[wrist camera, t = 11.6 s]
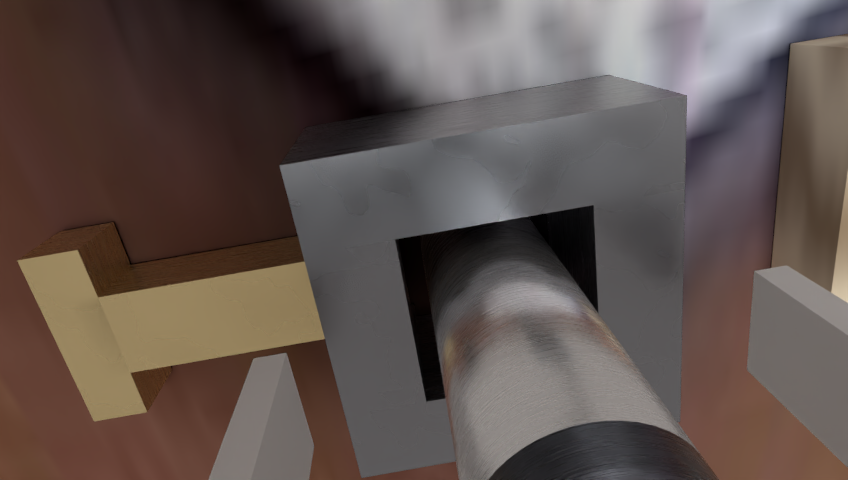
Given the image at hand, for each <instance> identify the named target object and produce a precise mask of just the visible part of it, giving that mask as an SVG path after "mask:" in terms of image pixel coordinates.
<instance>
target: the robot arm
mask: <svg viewBox="0 0 848 480" xmlns="http://www.w3.org/2000/svg"><path fill="white" fill-rule="evenodd" d="M747 370H748V371H749V372H750V373H751V374H752V375H753V376H754V377H755V378H756V379H757V380H758V381H759V382H760V383H761V384H762V385H763V386H764V387H765V388H766V389H767V390H768V391H769V392H770V393H771V394H772V395H773V396H774V397H775V398H777V399H778V400H779V401H780V402H781V403H782V404H783V405H784V406H785V407H786V408H787V409H788V410H789V411H790V412H791V413H792V414H793V415H794V416H795V417H796V418H797V419H798V420H799V421H800V422H801V423H802V424H803V425H804V426H805V427H806V428H807V429H808V430H810V431H811V432H812V433H813V434H814V435H815V436H816V437H817V438H818V439H819V440H820V441H821V442H822V443H823V444H824V445H825V446H826V447H827V448H828V449H829V450H830V451H831V452H832V453H833V454H834V455H835V456H836V457H837V458H838V459H839V460H840V461H841V462H843V463H844V464H845V465H846V466H847V467H848V303H847V302H845V301H844V300H842V299H841V298H839V297H837V296H836V295H834V294H832V293H831V292H829V291H828V290H826V289H824V288H823V287H821V286H819V285H818V284H816V283H815V282H813V281H811V280H810V279H808V278H806V277H805V276H803V275H802V274H800V273H798V272H797V271H795V270H794V269H792V268H790V267H789V266H787V265H786V266H780V267H775V268H769V269H763V270H757V271H754V281H753V295H752V308H751V322H750V335H749V349H748V362H747ZM313 450H314V444H313V440H312V437H311V434H310V430H309V427H308V423H307V420H306V417H305V413H304V410H303V407H302V403H301V400H300V397H299V393H298V390H297V386H296V383H295V380H294V376H293V373H292V370H291V366H290V363H289V359H288V356H287V353H282V354H276V355H271V356H265V357H259V358H254V359H253V361H252V364H251V367H250V369H249V372H248V375H247V377H246V380H245V383H244V385H243V388H242V391H241V394H240V396H239V399H238V402H237V404H236V407H235V410H234V412H233V415H232V418H231V420H230V423H229V426H228V429H227V431H226V434H225V437H224V439H223V442H222V445H221V447H220V450H219V453H218V455H217V458H216V461H215V464H214V466H213V469H212V472H211V474H210V477H209V480H309V476H310V469H311V463H312V456H313Z"/></svg>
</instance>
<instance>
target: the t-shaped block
mask: <svg viewBox="0 0 848 480" xmlns="http://www.w3.org/2000/svg"><path fill="white" fill-rule="evenodd" d="M17 261H18V263H19V265H20V267H21V270H22V272H23V274H24V276H25V278H26V280H27V282H28V284H29V286H30V288H31V291H32V293H33V295H34V297H35V299H36V301H37V303H38V305H39V307H40V309H41V311H42V314H43V316H44V318H45V320H46V322H47V324H48V326H49V328H50V330H51V332H52V334H53V337H54V339H55V341H56V343H57V345H58V347H59V349H60V351H61V353H62V355H63V357H64V360H65V362H66V364H67V366H68V368H69V370H70V372H71V374H72V376H73V378H74V380H75V383H76V385H77V387H78V389H79V391H80V393H81V395H82V397H83V399H84V401H85V404H86V406H87V408H88V410H89V412H90V414H91V416H92V418H93V420H94V421H99V420H105V419H111V418H117V417H122V416H128V415H134V414H139V413H145V412H148V410H149V408H150V406H151V405H152V403H153V401H154V400H155V398H156V396H157V395H158V393H159V391H160V390H161V388H162V386H163V384H164V383H165V381H166V379H167V378H168V376H169V374H170V373H171V371H172V369H171V367H170V366H172V365H178V364H184V363H190V362H195V361H201V360H207V359H213V358H218V357H224V356H230V355H236V354H241V353H247V352H253V351H258V350H264V349H270V348H276V347H281V346H287V345H293V344H299V343H304V342H310V341H316V340H322V339H325V337H324V333H323V329H322V326H321V322H320V318H319V314H318V310H317V307H316V303H315V299H314V295H313V291H312V288H311V284H310V280H309V276H308V272H307V269H306V265H305V261H304V257H303V253H302V250H301V246H300V242H299V238H298V236H295V237H289V238H284V239H278V240H272V241H266V242H261V243H255V244H249V245H243V246H237V247H232V248H226V249H220V250H214V251H209V252H203V253H197V254H191V255H185V256H180V257H174V258H168V259H162V260H157V261H151V262H145V263H139V264H133V265H130V263H129V260H128V258H127V255H126V253H125V250H124V248H123V245H122V243H121V240H120V237H119V235H118V232H117V230H116V227H115V225H114V222H112V223H106V224H100V225H94V226H88V227H83V228H77V229H71V230H65V231H60V232H59V233H57V234H56V235H54V236H53V237H51V238H50V239H48V240H47V241H45V242H44V243H42V244H41V245H39V246H38V247H36V248H35V249H33V250H32V251H30V252H29V253H27V254H26V255H25V256H23V257H22V258H20V259H19V260H17Z"/></svg>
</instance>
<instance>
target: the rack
mask: <svg viewBox="0 0 848 480" xmlns="http://www.w3.org/2000/svg"><path fill="white" fill-rule="evenodd" d="M786 265H787V266H789V267H790V268H792V269H794V270H795V271H797V272H798V273H800V274H802V275H803V276H805V277H806V278H808V279H810V280H811V281H813V282H815V283H816V284H818V285H819V286H821V287H823V288H824V289H826V290H828V291H829V292H831V293H832V294H834V295H836V296H837V297H839V298H841V299H842V300H844V301H845V302H847V303H848V34H844V35H838V36H833V37H827V38H821V39H815V40H809V41H804V42H798V43H792V44H791V46H790V57H789V69H788V80H787V92H786V103H785V115H784V126H783V138H782V149H781V161H780V172H779V184H778V195H777V207H776V218H775V230H774V241H773V253H772V264H771V268H775V267H780V266H786Z"/></svg>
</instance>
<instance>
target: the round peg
mask: <svg viewBox="0 0 848 480" xmlns="http://www.w3.org/2000/svg"><path fill="white" fill-rule="evenodd" d="M420 245H421V253H422V259H423V265H424V271H425V277H426V283H427V289H428V295H429V301H430V307H431V313H432V319H433V325H434V331H435V337H436V343H437V349H438V355H439V361H440V367H441V373H442V379H443V385H444V391H445V397H446V403H447V409H448V415H449V421H450V427H451V433H452V439H453V445H454V451H455V457H456V463H457V469H458V475H459V480H719V479H718V478H717V476H716V475H715V474H714V472H713V471H712V469H711V468H710V467H709V465H708V464H707V463H706V461H705V460H704V458H703V457H702V456H701V454H700V453H699V451H698V450H697V449H696V447H695V446H694V445H693V443H692V442H691V440H690V439H689V438H688V436H687V435H686V434H685V432H684V431H683V429H682V428H681V427H680V425H679V424H678V423H677V421H676V420H675V418H674V417H673V416H672V414H671V413H670V412H669V410H668V409H667V407H666V406H665V405H664V403H663V402H662V400H661V399H660V398H659V396H658V395H657V394H656V392H655V391H654V389H653V388H652V387H651V385H650V384H649V383H648V381H647V380H646V378H645V377H644V376H643V374H642V373H641V372H640V370H639V369H638V367H637V366H636V365H635V363H634V362H633V360H632V359H631V358H630V356H629V355H628V354H627V352H626V351H625V349H624V348H623V347H622V345H621V344H620V343H619V341H618V340H617V338H616V337H615V336H614V334H613V333H612V332H611V330H610V329H609V327H608V326H607V325H606V323H605V322H604V321H603V319H602V318H601V316H600V315H599V314H598V312H597V311H596V309H595V308H594V307H593V305H592V304H591V303H590V301H589V300H588V298H587V297H586V296H585V294H584V293H583V292H582V290H581V289H580V287H579V286H578V285H577V283H576V282H575V281H574V279H573V278H572V276H571V275H570V274H569V272H568V271H567V269H566V268H565V267H564V265H563V264H562V263H561V261H560V260H559V258H558V257H557V256H556V254H555V253H554V252H553V250H552V249H551V247H550V246H549V245H548V243H547V242H546V241H545V239H544V238H543V236H542V235H541V234H540V232H539V231H538V230H537V228H536V227H535V225H534V224H533V223H532V221H531V220H530V218H529V217H522V218H516V219H510V220H505V221H499V222H493V223H487V224H482V225H476V226H470V227H464V228H459V229H453V230H447V231H441V232H436V233H430V234H424V235H421V242H420Z"/></svg>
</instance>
